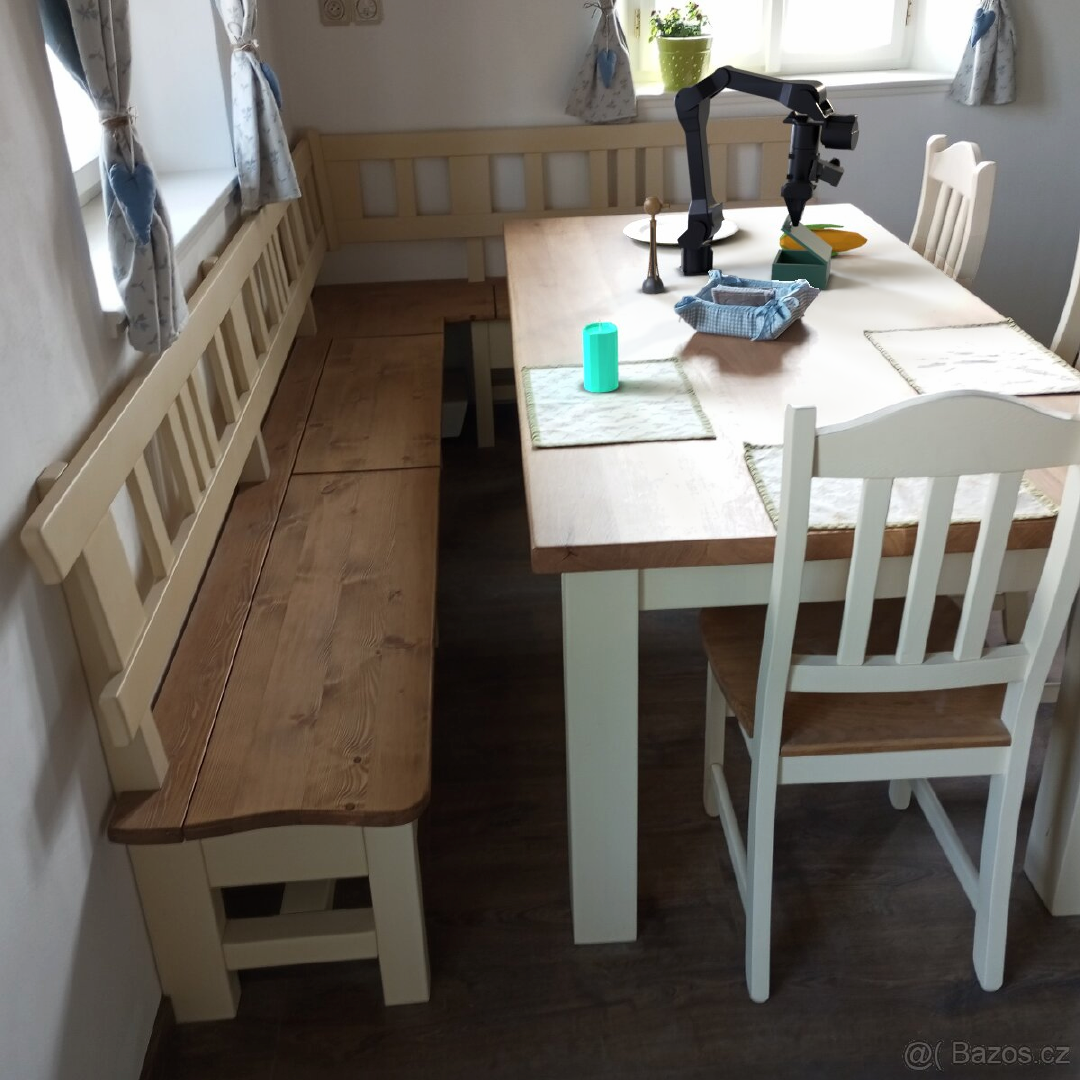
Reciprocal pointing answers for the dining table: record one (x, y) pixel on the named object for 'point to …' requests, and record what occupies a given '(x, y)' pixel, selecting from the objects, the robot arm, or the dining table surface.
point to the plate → (672, 229)
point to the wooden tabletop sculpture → (653, 247)
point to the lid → (807, 240)
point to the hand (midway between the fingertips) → (796, 223)
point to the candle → (600, 357)
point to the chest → (800, 268)
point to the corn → (828, 238)
